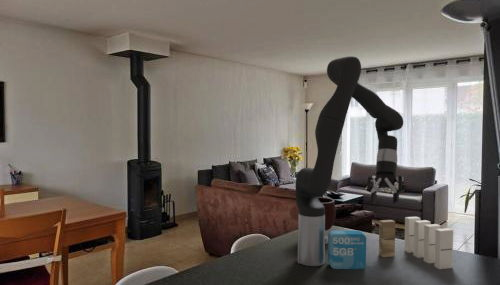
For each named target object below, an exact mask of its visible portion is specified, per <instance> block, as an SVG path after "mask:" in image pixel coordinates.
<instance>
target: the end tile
mask: <svg viewBox="0 0 500 285" xmlns="http://www.w3.org/2000/svg"><path fill="white" fill-rule="evenodd" d="M453 248H454V230H453V229H452V228H448V227H446V228H445V227H444V228H441V229H435V263H434V267H435V268H436V269H439V270H444V269H453V257H454V256H453V252H454V251H453Z"/></svg>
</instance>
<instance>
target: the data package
mask: <svg viewBox="0 0 500 285" xmlns="http://www.w3.org/2000/svg"><path fill="white" fill-rule="evenodd" d="M327 236H328V244H327V248H328V249H327V261H328V263H329V266H330V268H332V269H334V270H364V269H365V268H366V266H367V236H366V235H365V234H364V233H363V231H361V230H337V229H336V230H330V231H329V232H328V234H327Z"/></svg>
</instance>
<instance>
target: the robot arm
mask: <svg viewBox="0 0 500 285" xmlns="http://www.w3.org/2000/svg"><path fill="white" fill-rule="evenodd" d="M326 73H327V74H326V75H327V77H328V78H329V80H330V81H331V82H332V83H333V84H335V85H336V89H335V91H334V92H333V95H332V96H331V97H330V98H329V100H328V101H327V102H326V103H325V105H324V106H323V108H322V109H321V110H320V112H319V115H318V118H317V121H316V125H315V130H314V133H315V134H314V135H315V141H316V142H315V143H316V148H317V156H316V159H315V164H314V167H304V168H303V167H302V168H301V169H300V170H299V171H298V172H297V175H296V177H295V202H296V207H297V209H298V235H297V264H301V265H304V266H308V267H319V266H322V265H324V264H325V263H326V262H325V260H326V254H325V252H326V248H325V247H326V245H325V235H326V231H325V207H324V205H323V204H322V203H321V202H320V201H319V199H318V197H323V196H324V195H326V194H327V192H328V190H329V189H330V186H331V181H332V177H333V171H334V170H333V169H334V164H335V159H336V154H337V151H338V147H339V143H340V139H341V136H342V133H343V129H344V125H345V122H346V117H347V114H348V110H349V108H350V107H349V106H350V104H351V100H352V99H354V101H356V102H357V103H358V104H359V105H360V106H361V107H362V108H363V109H364V111H366V113H367V114H369V116H370V117H371V118H373V119H375V122H374V126H375V131H376V134H377V140H378V145H377V154H376V165H375V166H376V167H375V177H371V176H368V178H367V184H366V192H369V194H370V202H371V204H374V205H375V204H377V201H378V200H377V197H378V192H379V191H380V190H381V189H391V190H392V192H393V194H392V204H394V205H398V203H399V202H400V194H404V193H405V191H406V190H405V187H406V186H405V179H406V178H405V177H404V176H403V175H398V176H397V172H398V171H397V170H398V169H397V168H398V138H397V137H396V136H394V135H390V134H389V135H388V132H393V131H399V130H400V129H402V127H404V118H403V116H402V115H401V113H400V112H398V111H397V110H396V109H395V108H392V107H391V106H389V105H387V104H386V103H385V102H384V101H383V99H382V98H381V97H380V96H379V95H378V94H377V93H376V92H375V91H373V90H371V89H370V88H368V87H366V86H364V85H363V84H361V83H359V80H360V77H361V74H362V63H361V60H360V59H359V58H358V57H357V56H355V55H354V56H353V55H348V56H344V57H337V58H335V59H332V60H331V61H330V62H329V63H328V64H327V67H326ZM396 182H397V184H398V185H396ZM397 186H398V187H397Z"/></svg>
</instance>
